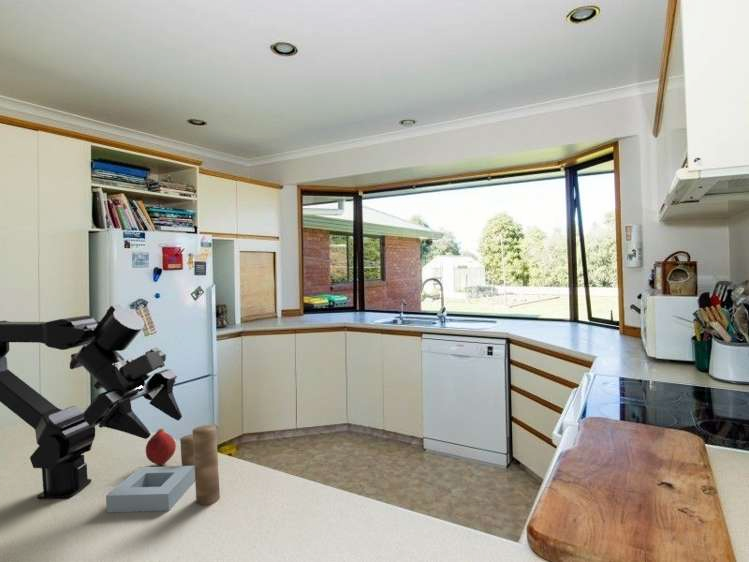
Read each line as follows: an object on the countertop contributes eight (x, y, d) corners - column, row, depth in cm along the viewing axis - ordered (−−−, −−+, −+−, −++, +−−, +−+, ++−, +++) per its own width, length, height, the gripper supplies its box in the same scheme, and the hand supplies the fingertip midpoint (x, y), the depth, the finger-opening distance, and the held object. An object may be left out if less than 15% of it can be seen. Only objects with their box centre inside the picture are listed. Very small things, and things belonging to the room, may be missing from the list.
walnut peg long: (192, 505, 80) (188, 433, 79) (201, 494, 84) (198, 425, 83) (215, 504, 80) (211, 432, 79) (223, 493, 84) (219, 424, 83)
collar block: (106, 512, 79) (105, 495, 79) (140, 482, 90) (139, 467, 90) (169, 510, 79) (168, 493, 78) (195, 480, 90) (194, 465, 89)
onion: (164, 472, 94) (162, 434, 94) (140, 470, 95) (138, 433, 95) (181, 460, 99) (179, 424, 99) (158, 458, 101) (156, 423, 100)
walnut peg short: (178, 475, 92) (176, 441, 92) (187, 466, 96) (185, 434, 96) (198, 474, 92) (196, 441, 92) (205, 466, 96) (203, 433, 96)
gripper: (94, 346, 74) (158, 414, 72) (165, 329, 92) (218, 383, 91) (56, 393, 76) (118, 460, 74) (134, 367, 94) (185, 421, 92)
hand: (165, 427), depth 83 cm, fingers open, 9 cm apart
